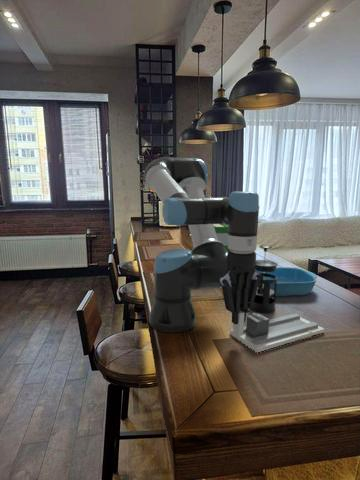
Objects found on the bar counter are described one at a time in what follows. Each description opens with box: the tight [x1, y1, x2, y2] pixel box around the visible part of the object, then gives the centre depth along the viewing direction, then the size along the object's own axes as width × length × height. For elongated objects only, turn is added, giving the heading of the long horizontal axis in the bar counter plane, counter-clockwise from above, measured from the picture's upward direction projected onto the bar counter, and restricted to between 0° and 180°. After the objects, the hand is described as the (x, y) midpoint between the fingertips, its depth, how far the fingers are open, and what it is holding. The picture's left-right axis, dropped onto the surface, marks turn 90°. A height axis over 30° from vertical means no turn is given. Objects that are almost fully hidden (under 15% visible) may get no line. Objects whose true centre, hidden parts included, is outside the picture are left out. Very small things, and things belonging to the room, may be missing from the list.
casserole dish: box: [255, 266, 318, 297], centre depth 135 cm, size 37×22×7 cm, turn 91°
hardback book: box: [213, 224, 229, 251], centre depth 160 cm, size 18×7×24 cm, turn 9°
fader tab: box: [245, 312, 270, 338], centre depth 91 cm, size 4×4×6 cm
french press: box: [250, 244, 279, 314], centre depth 112 cm, size 12×9×23 cm
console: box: [229, 312, 325, 354], centre depth 95 cm, size 26×12×2 cm, turn 117°
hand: (238, 333), depth 88 cm, fingers closed
